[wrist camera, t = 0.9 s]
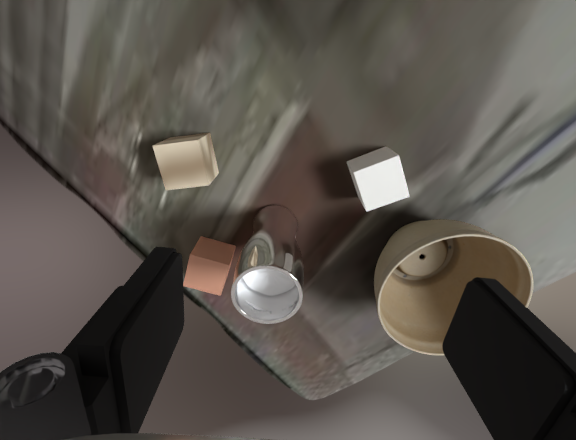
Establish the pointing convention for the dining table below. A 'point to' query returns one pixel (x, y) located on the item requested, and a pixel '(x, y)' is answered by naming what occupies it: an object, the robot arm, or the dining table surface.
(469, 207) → the dining table surface
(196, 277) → the rust block
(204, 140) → the beech block
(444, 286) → the planter bowl
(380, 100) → the dining table surface
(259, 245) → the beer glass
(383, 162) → the cream block
